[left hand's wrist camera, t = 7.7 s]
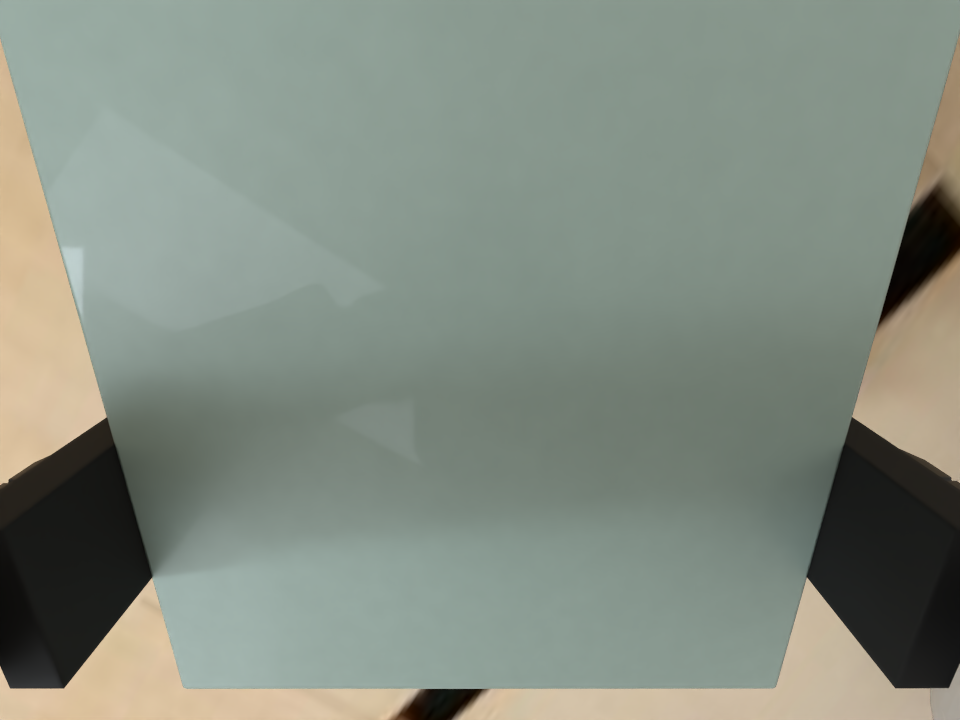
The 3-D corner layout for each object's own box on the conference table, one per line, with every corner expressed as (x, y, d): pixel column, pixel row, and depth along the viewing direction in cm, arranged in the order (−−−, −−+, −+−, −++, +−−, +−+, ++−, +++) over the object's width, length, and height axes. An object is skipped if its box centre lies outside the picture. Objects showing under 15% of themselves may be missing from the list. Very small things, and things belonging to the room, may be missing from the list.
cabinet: (246, -264, 13) (-451, -1539, 3) (713, -264, 13) (1409, -1540, 3) (327, 434, 20) (182, 690, 10) (631, 434, 20) (777, 690, 10)
